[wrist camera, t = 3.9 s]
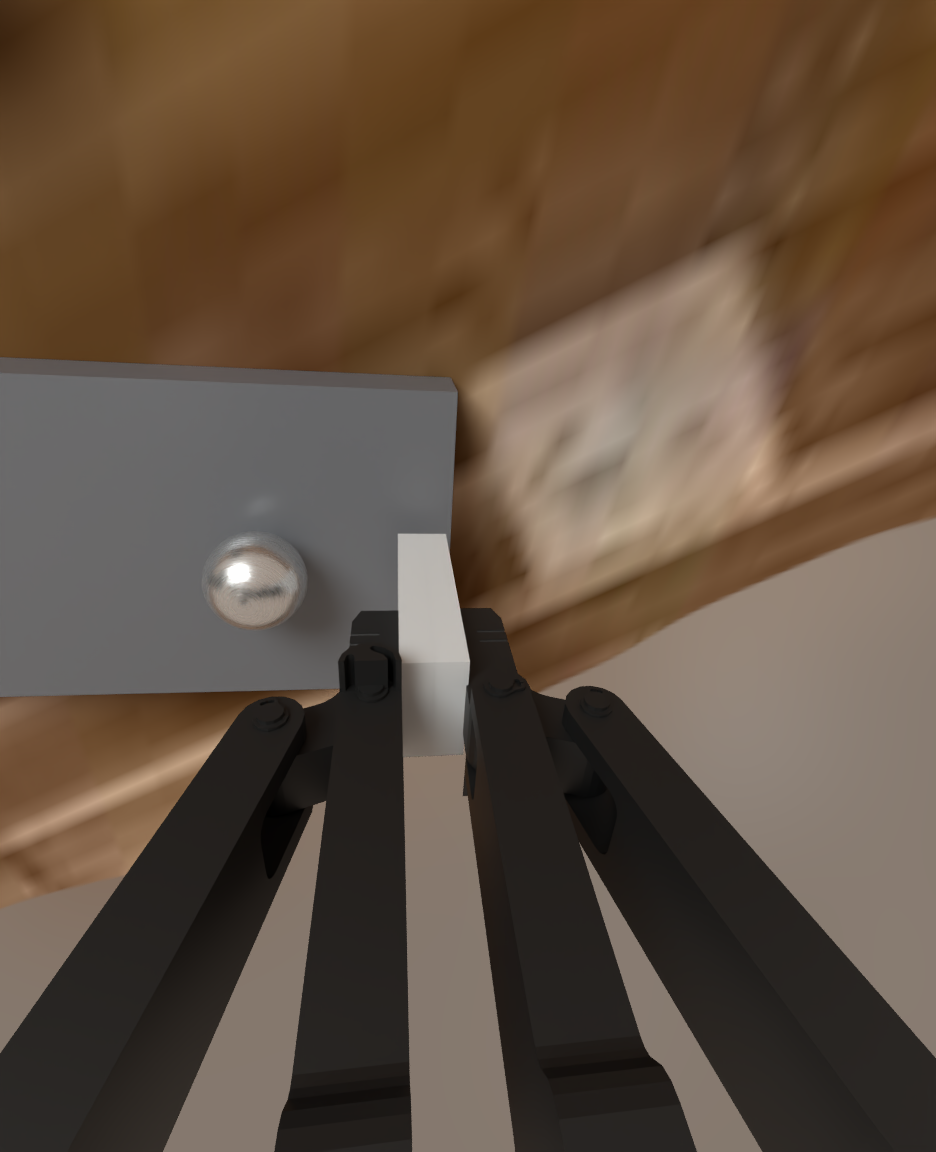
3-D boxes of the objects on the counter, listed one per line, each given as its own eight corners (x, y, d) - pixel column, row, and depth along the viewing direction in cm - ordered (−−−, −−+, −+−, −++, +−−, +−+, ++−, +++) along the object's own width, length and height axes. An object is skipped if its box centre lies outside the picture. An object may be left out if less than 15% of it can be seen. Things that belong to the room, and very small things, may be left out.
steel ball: (225, 598, 19) (197, 651, 16) (211, 515, 17) (178, 558, 15) (316, 597, 19) (303, 649, 17) (310, 516, 18) (295, 559, 15)
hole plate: (-207, 658, 21) (-277, 703, 19) (-408, 338, 16) (-538, 350, 13) (438, 647, 24) (442, 686, 22) (450, 377, 19) (457, 392, 16)
